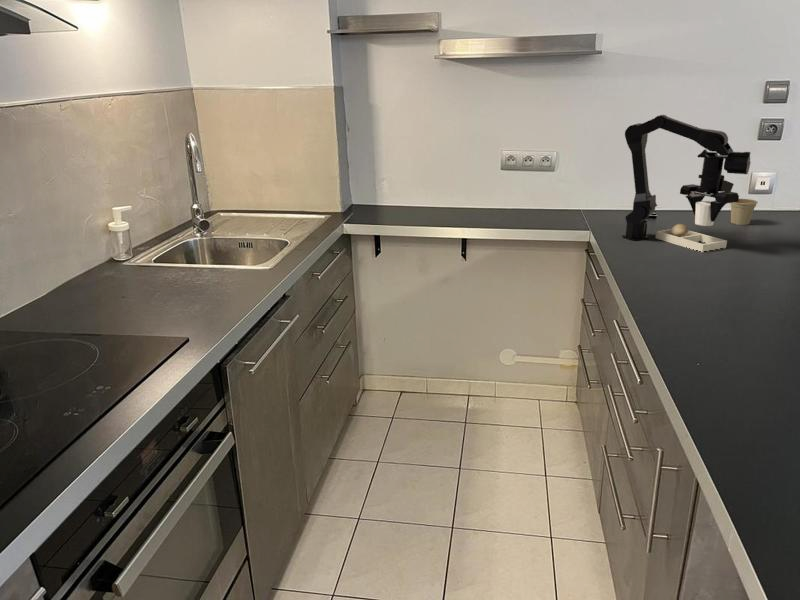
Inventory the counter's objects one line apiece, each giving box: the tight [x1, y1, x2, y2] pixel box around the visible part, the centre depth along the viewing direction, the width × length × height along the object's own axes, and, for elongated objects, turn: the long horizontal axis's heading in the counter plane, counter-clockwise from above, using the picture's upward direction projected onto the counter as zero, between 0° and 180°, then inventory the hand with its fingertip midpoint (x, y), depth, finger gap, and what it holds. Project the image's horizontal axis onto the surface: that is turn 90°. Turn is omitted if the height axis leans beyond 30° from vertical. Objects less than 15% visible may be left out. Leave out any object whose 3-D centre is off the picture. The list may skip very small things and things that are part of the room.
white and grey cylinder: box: [694, 200, 715, 227], centre depth 203 cm, size 7×7×7 cm
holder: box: [655, 228, 728, 253], centre depth 211 cm, size 11×20×2 cm, turn 23°
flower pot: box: [729, 198, 759, 226], centre depth 232 cm, size 9×9×9 cm
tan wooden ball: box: [670, 223, 689, 237], centre depth 214 cm, size 6×6×6 cm
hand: (704, 219), depth 204 cm, fingers closed on white and grey cylinder, 6 cm apart
